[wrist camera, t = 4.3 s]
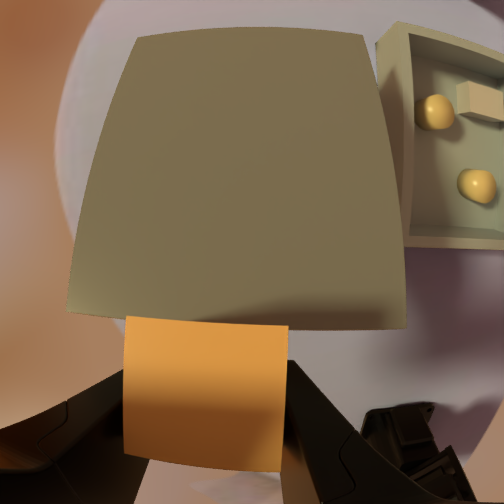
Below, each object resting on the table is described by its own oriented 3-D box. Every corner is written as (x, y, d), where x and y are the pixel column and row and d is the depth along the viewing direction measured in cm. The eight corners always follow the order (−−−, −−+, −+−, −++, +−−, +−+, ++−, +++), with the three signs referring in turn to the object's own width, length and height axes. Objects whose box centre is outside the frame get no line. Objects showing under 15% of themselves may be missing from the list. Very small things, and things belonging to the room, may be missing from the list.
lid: (381, 409, 9) (456, 451, 5) (88, 390, 10) (-3, 409, 5) (355, 60, 13) (376, -20, 9) (146, 61, 14) (117, -13, 9)
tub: (494, 235, 19) (527, 250, 15) (374, 229, 19) (397, 246, 15) (497, 75, 15) (529, 66, 12) (375, 43, 16) (396, 21, 12)
